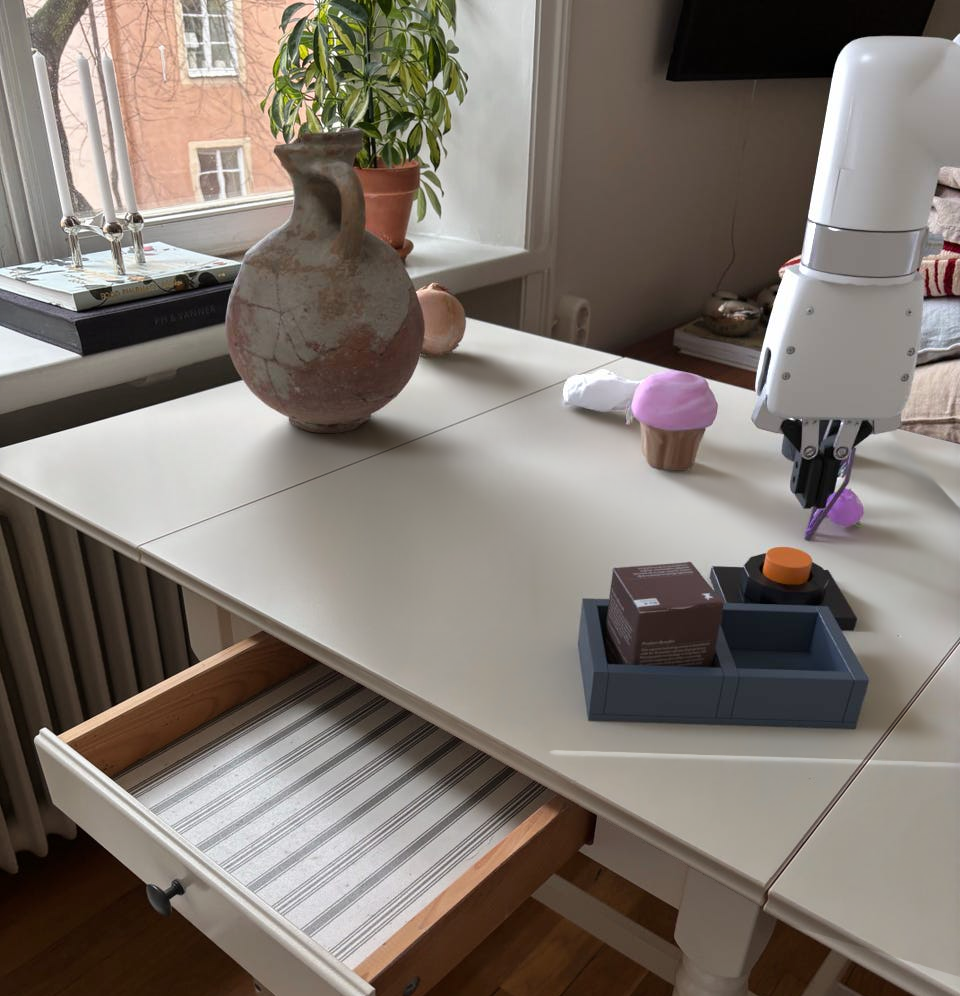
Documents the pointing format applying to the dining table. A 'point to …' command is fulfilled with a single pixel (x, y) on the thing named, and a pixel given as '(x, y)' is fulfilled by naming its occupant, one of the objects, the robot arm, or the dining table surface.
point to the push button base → (781, 589)
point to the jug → (324, 299)
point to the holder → (733, 673)
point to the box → (662, 617)
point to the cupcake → (673, 417)
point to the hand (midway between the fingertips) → (809, 501)
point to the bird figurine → (601, 392)
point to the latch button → (787, 565)
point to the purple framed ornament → (839, 502)
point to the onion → (441, 320)
